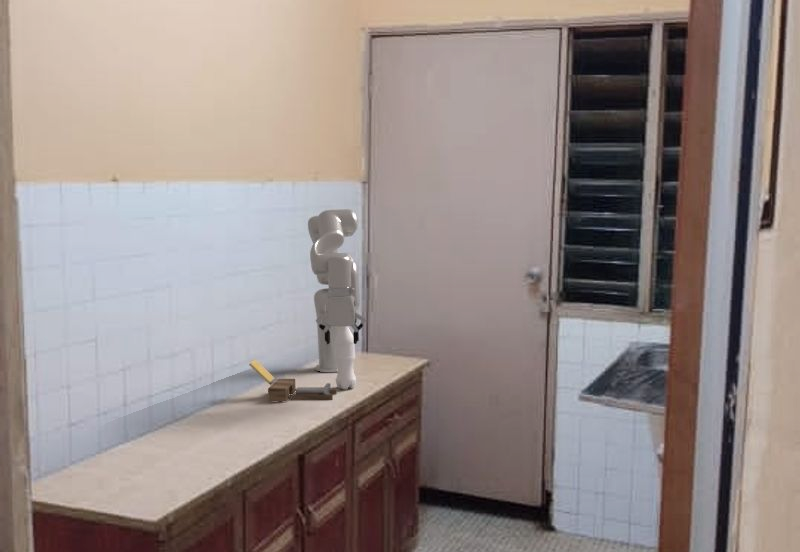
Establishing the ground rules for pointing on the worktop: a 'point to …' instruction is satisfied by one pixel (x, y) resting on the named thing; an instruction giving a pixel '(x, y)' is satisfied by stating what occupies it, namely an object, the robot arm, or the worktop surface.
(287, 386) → the block
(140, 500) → the worktop surface
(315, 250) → the robot arm
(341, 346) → the water bottle
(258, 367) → the yellow grey-edged tile
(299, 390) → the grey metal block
